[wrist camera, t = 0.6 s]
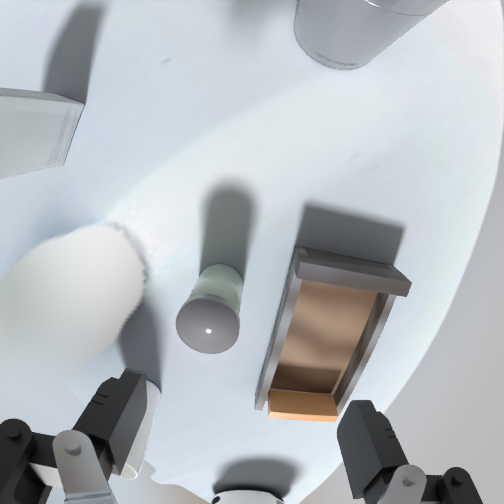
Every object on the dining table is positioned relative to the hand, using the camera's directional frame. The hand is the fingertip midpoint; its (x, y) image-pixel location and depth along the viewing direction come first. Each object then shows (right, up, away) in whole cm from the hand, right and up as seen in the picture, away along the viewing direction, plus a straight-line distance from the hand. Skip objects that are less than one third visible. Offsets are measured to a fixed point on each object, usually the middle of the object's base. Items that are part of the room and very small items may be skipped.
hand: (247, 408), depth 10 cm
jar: (-3, +2, +22) cm, 23 cm away
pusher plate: (+7, -14, +26) cm, 30 cm away
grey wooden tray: (+9, -5, +24) cm, 26 cm away
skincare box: (-23, +21, +17) cm, 35 cm away
